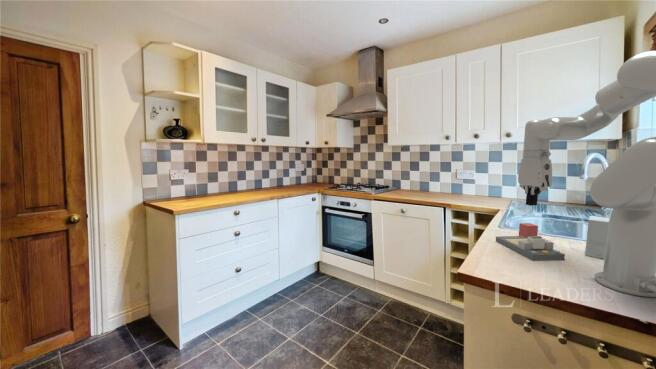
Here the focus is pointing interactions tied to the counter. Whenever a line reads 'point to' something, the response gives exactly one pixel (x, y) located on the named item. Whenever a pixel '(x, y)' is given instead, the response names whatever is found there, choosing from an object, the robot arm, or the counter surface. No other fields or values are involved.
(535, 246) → the breaker switch
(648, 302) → the counter surface
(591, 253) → the small box
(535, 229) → the red block
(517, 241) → the breaker panel
